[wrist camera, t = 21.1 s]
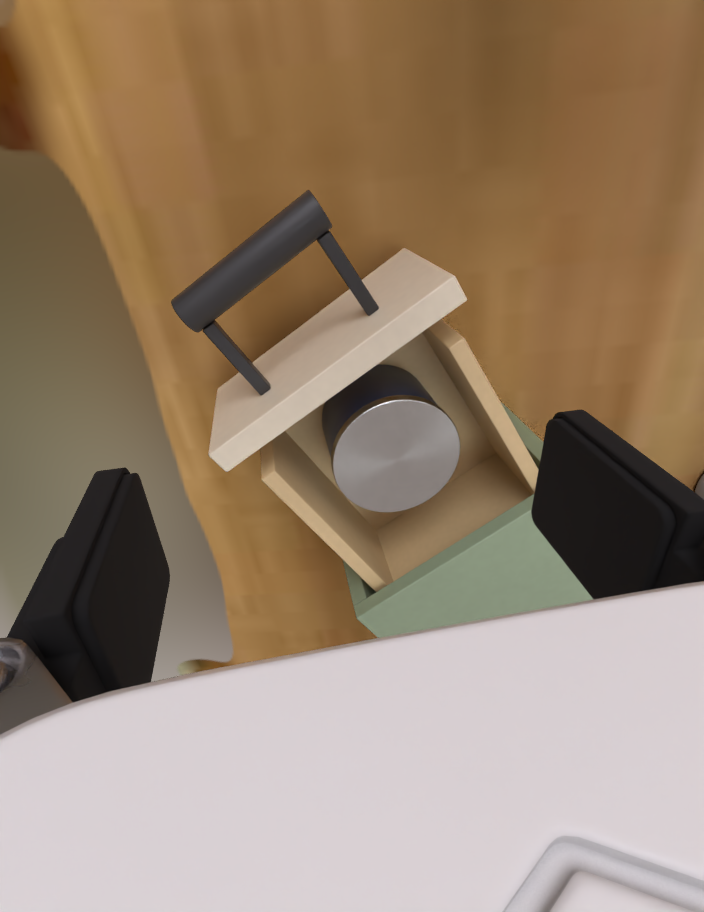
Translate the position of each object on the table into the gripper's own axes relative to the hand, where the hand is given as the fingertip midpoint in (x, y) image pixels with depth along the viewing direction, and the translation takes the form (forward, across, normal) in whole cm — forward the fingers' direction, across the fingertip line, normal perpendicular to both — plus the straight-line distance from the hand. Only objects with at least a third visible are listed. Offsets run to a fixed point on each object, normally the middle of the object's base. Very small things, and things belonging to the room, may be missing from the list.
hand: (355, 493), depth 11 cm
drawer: (+17, -3, +5) cm, 18 cm away
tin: (+16, -4, +6) cm, 18 cm away
